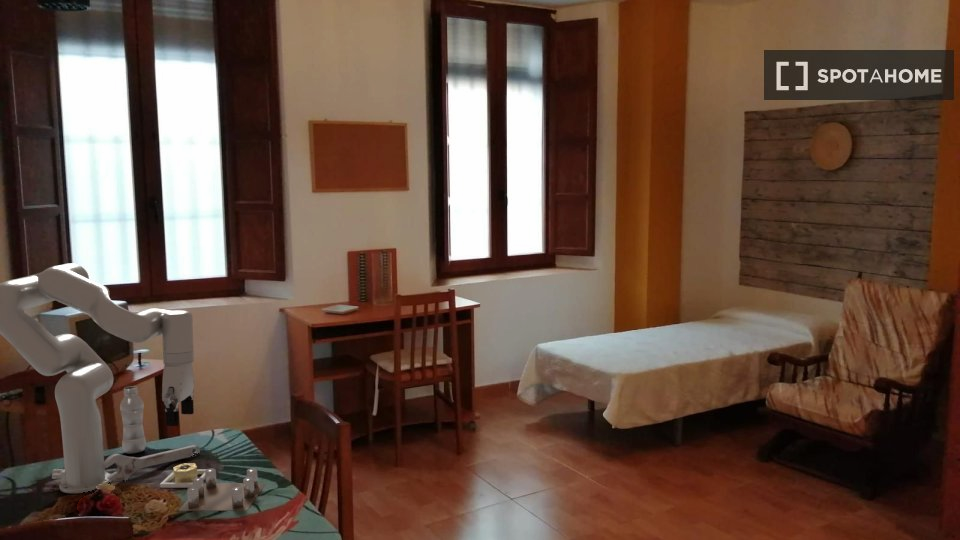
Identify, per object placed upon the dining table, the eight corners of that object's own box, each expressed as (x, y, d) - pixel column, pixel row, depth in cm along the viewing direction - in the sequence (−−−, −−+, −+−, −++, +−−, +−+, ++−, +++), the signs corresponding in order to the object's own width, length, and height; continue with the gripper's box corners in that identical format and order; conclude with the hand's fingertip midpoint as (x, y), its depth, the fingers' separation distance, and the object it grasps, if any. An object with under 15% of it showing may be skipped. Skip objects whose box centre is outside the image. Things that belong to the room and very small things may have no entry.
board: (178, 514, 186) (177, 510, 186) (203, 486, 202) (203, 483, 202) (246, 514, 186) (246, 510, 186) (266, 486, 202) (266, 483, 202)
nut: (169, 485, 202) (168, 471, 201) (178, 477, 207) (177, 463, 207) (193, 485, 202) (192, 471, 201) (201, 477, 207) (200, 463, 207)
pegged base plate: (182, 508, 187) (181, 491, 186) (204, 484, 201) (203, 468, 201) (245, 508, 186) (244, 491, 186) (262, 484, 201) (262, 468, 200)
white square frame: (160, 491, 200) (160, 483, 199) (175, 476, 209) (175, 469, 209) (197, 490, 200) (196, 483, 199) (210, 476, 209) (210, 469, 209)
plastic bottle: (130, 448, 232) (126, 384, 229) (151, 448, 231) (147, 385, 228) (117, 455, 225) (113, 390, 223) (138, 456, 225) (134, 391, 222)
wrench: (199, 463, 227) (105, 487, 201) (195, 462, 228) (101, 486, 202) (201, 437, 227) (106, 457, 201) (197, 436, 228) (102, 456, 202)
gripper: (177, 349, 209) (179, 409, 211) (149, 365, 192) (152, 430, 194) (204, 350, 209) (206, 410, 211) (179, 365, 192) (181, 430, 194)
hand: (180, 419), depth 202 cm, fingers open, 9 cm apart
